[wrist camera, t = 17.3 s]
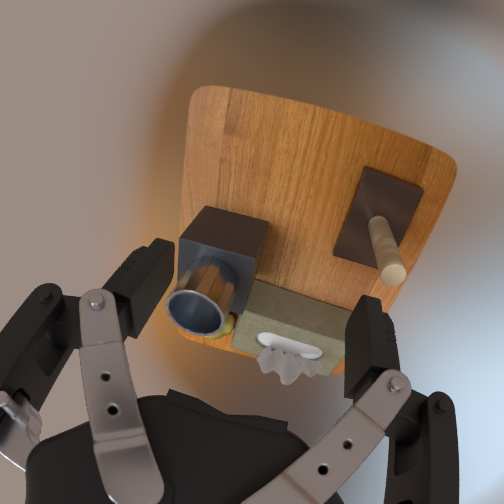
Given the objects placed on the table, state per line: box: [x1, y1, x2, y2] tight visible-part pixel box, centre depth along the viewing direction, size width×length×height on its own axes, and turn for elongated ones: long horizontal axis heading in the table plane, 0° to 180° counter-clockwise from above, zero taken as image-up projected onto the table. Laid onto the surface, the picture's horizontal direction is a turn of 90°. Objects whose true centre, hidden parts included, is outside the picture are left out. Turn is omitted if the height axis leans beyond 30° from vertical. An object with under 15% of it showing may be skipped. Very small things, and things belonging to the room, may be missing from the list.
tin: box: [166, 256, 239, 336], centre depth 37 cm, size 7×7×7 cm
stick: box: [368, 216, 406, 286], centre depth 35 cm, size 3×3×12 cm
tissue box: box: [230, 279, 352, 385], centre depth 47 cm, size 19×10×16 cm, turn 75°
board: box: [333, 166, 424, 269], centre depth 41 cm, size 14×9×2 cm, turn 168°
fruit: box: [204, 313, 236, 339], centre depth 56 cm, size 6×6×10 cm
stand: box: [177, 206, 269, 315], centre depth 44 cm, size 10×10×10 cm
